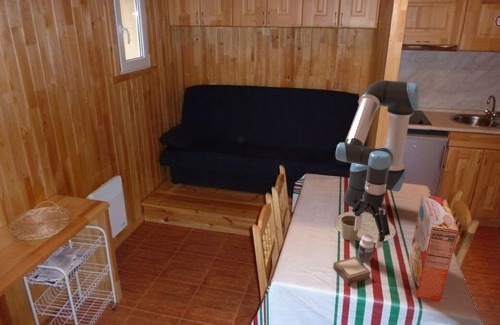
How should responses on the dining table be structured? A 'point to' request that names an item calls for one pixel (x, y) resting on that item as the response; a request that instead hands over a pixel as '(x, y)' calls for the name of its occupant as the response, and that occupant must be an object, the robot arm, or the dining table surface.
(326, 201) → the dining table surface
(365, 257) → the pill bottle
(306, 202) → the dining table surface
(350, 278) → the base block
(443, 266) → the pasta box
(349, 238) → the flower pot
